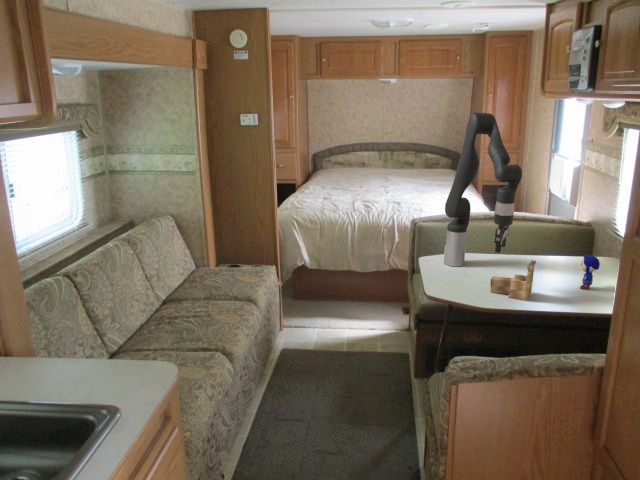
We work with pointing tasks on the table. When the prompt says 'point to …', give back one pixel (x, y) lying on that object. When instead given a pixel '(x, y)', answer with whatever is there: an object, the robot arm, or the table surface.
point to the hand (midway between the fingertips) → (500, 249)
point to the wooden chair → (522, 284)
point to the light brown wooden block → (502, 284)
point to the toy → (589, 270)
